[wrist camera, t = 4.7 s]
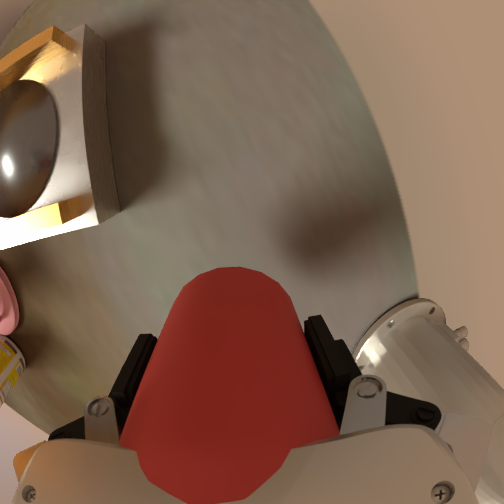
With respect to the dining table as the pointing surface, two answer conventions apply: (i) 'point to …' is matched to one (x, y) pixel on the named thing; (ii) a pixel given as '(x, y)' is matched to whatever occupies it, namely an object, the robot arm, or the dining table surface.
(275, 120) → the dining table surface
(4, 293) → the toy figure
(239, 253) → the dining table surface
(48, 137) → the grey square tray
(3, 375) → the supplement bottle
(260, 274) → the beer can
